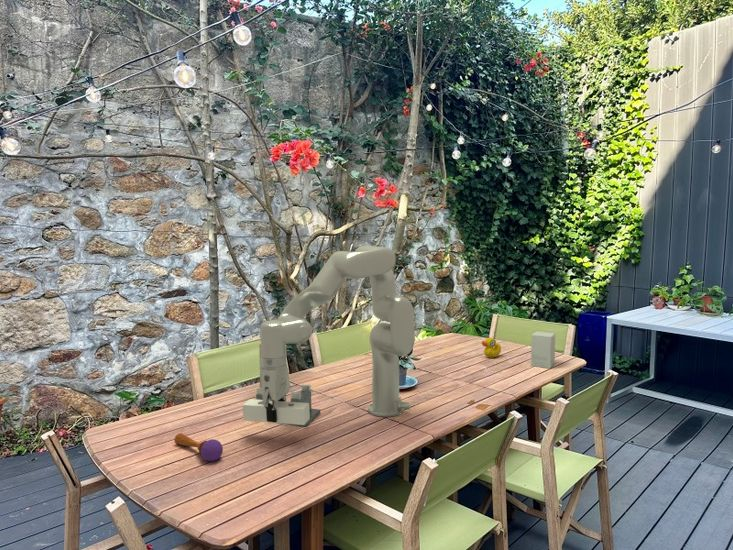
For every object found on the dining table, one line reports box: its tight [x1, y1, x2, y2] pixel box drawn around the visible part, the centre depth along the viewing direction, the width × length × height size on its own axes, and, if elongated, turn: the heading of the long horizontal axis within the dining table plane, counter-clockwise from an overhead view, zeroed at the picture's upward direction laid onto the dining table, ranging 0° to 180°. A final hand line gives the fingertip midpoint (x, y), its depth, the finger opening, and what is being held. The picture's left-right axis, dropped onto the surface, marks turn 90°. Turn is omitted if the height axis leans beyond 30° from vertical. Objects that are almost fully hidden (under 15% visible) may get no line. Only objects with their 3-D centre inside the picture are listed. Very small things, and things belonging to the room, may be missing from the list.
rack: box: [255, 384, 321, 428], centre depth 181 cm, size 22×12×10 cm, turn 72°
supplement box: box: [530, 330, 556, 369], centre depth 243 cm, size 9×9×15 cm
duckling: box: [481, 337, 502, 359], centre depth 256 cm, size 11×5×10 cm, turn 118°
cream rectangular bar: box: [242, 398, 310, 426], centre depth 162 cm, size 20×5×5 cm, turn 77°
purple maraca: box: [174, 433, 224, 462], centre depth 153 cm, size 6×6×20 cm
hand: (276, 417), depth 162 cm, fingers closed on cream rectangular bar, 5 cm apart
